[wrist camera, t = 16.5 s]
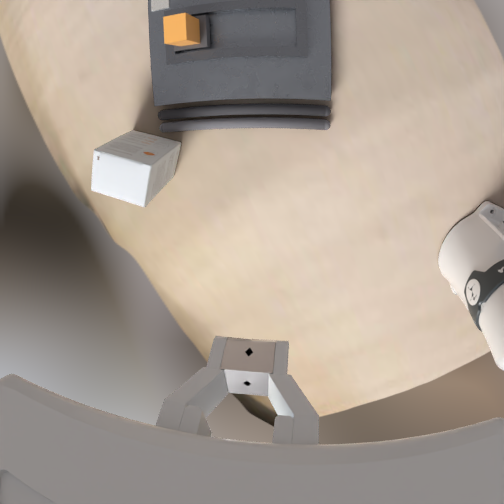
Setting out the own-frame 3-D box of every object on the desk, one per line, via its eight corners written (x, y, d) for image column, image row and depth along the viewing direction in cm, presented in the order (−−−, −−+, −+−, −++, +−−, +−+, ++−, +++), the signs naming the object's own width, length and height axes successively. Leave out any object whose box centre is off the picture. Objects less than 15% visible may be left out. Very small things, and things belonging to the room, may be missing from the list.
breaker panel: (325, -27, 23) (328, -36, 20) (328, 99, 33) (332, 101, 30) (154, -13, 25) (142, -18, 22) (160, 104, 35) (149, 108, 32)
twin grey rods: (330, 105, 33) (331, 106, 32) (329, 129, 35) (330, 131, 34) (159, 110, 36) (155, 111, 35) (162, 131, 38) (158, 134, 37)
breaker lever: (209, 17, 26) (193, 7, 21) (210, 47, 29) (194, 43, 24) (177, 21, 27) (156, 14, 22) (178, 51, 29) (157, 49, 24)
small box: (127, 163, 41) (89, 191, 32) (133, 128, 38) (92, 149, 29) (174, 177, 42) (144, 209, 33) (183, 141, 38) (151, 165, 30)
